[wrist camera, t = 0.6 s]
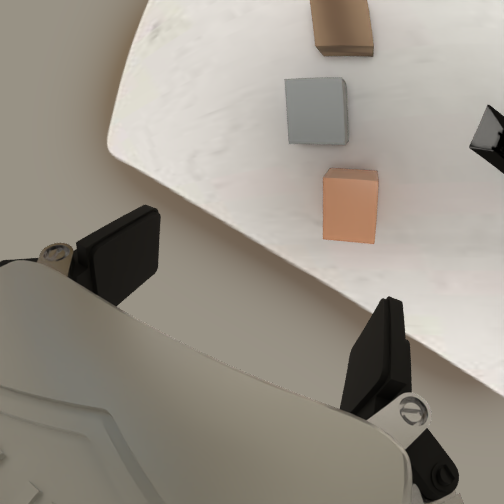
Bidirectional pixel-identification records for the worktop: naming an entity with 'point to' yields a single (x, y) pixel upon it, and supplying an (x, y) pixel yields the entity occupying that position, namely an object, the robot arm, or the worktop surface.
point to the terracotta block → (350, 205)
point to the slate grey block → (317, 111)
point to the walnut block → (342, 27)
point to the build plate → (490, 138)
